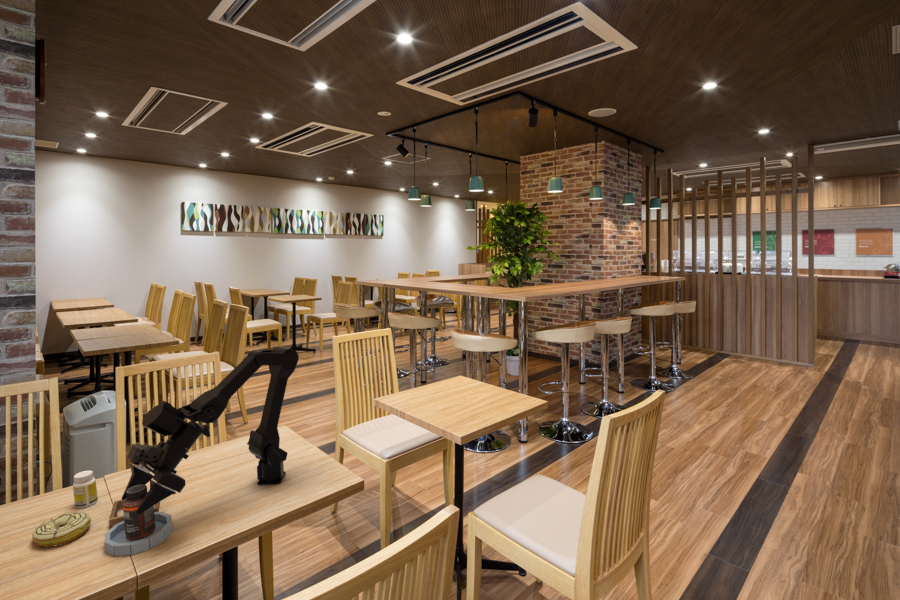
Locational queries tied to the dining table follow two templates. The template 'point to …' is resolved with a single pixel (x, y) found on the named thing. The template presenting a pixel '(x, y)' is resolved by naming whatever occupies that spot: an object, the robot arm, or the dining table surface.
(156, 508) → the tray
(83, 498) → the supplement bottle
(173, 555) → the dining table surface
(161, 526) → the dish
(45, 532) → the decorated donut
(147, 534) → the supplement bottle
